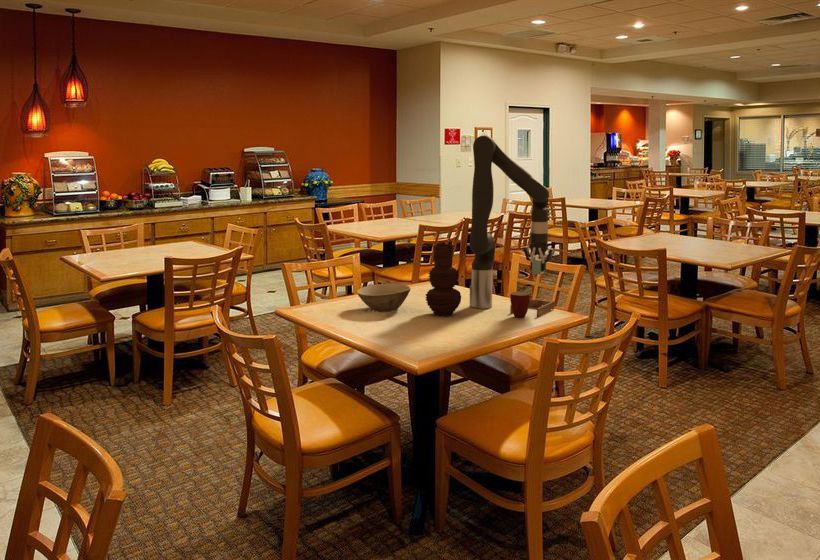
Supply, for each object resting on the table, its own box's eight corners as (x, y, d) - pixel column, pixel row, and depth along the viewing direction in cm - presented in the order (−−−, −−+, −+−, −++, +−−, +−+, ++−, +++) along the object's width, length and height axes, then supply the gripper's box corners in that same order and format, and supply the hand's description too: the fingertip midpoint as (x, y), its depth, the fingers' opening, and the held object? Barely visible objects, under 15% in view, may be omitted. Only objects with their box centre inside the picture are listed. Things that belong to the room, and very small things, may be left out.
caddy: (510, 313, 296) (510, 305, 295) (526, 305, 310) (526, 298, 309) (538, 317, 289) (538, 308, 288) (553, 309, 303) (554, 301, 302)
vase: (417, 314, 295) (417, 245, 289) (441, 308, 306) (441, 241, 300) (445, 320, 284) (445, 248, 279) (468, 314, 295) (468, 244, 290)
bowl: (347, 313, 298) (347, 290, 296) (371, 302, 320) (370, 281, 318) (397, 318, 290) (397, 294, 288) (418, 306, 311) (418, 284, 309)
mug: (527, 321, 282) (528, 297, 281) (508, 319, 284) (508, 296, 283) (530, 315, 292) (530, 292, 291) (511, 314, 294) (511, 291, 293)
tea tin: (531, 273, 300) (532, 259, 299) (535, 272, 304) (535, 258, 303) (540, 274, 298) (540, 260, 297) (544, 272, 302) (544, 259, 301)
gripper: (520, 231, 298) (519, 270, 302) (551, 233, 291) (550, 273, 294) (527, 230, 305) (526, 268, 308) (558, 231, 297) (556, 271, 300)
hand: (538, 270), depth 301 cm, fingers closed on tea tin, 4 cm apart
